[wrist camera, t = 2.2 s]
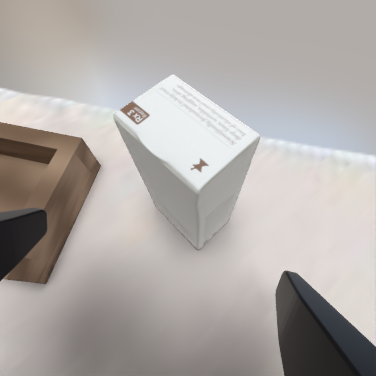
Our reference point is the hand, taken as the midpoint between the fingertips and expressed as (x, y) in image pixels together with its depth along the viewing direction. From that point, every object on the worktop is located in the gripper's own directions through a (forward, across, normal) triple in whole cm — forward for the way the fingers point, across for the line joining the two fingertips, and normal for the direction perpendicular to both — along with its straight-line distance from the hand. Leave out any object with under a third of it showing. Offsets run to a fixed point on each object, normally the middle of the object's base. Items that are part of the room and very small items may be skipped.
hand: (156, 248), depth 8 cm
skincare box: (+12, 0, +4) cm, 13 cm away
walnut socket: (+10, +16, +6) cm, 20 cm away
